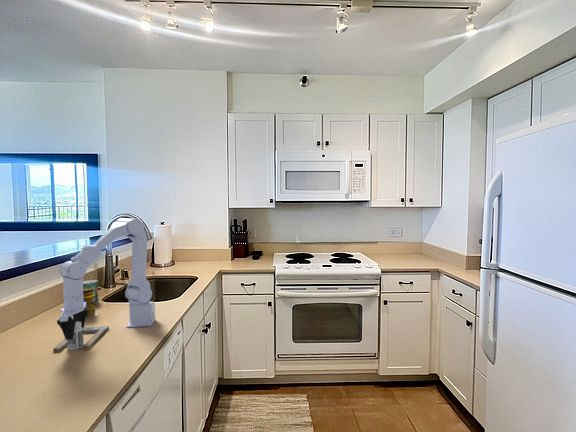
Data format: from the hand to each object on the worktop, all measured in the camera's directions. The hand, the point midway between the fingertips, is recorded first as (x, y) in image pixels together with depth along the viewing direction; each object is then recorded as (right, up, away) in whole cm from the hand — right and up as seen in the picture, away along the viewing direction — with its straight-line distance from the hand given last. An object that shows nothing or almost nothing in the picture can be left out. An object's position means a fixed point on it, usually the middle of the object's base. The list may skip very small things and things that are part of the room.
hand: (74, 334), depth 114 cm
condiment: (-15, -3, +30) cm, 34 cm away
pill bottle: (0, -5, 0) cm, 5 cm away
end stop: (-2, -4, +14) cm, 14 cm away
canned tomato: (-24, -2, +48) cm, 54 cm away
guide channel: (-1, -4, +5) cm, 6 cm away
